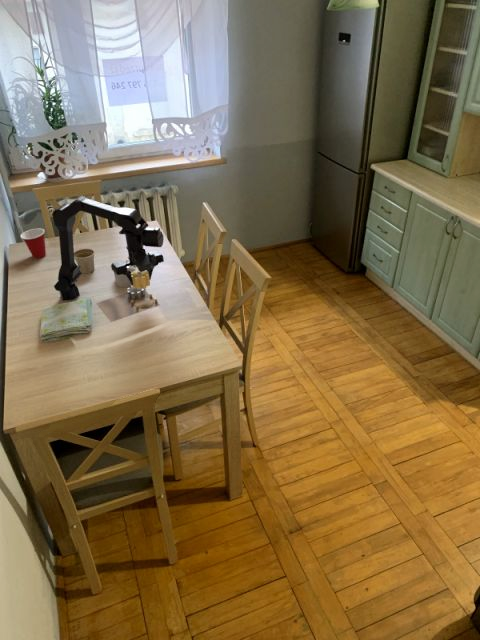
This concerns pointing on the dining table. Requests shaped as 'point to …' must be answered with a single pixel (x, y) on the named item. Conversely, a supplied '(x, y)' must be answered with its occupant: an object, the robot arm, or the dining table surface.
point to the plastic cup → (35, 242)
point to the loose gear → (140, 279)
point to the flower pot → (85, 260)
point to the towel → (66, 320)
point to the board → (126, 305)
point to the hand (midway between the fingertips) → (140, 282)
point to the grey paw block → (124, 276)
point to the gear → (135, 292)
